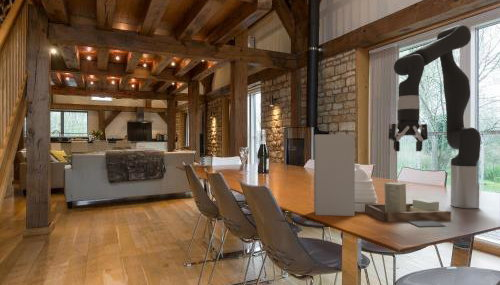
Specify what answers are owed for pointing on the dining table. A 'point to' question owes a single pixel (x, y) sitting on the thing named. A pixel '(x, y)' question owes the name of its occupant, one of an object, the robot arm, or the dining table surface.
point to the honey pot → (363, 189)
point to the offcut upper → (426, 204)
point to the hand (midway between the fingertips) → (407, 151)
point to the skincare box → (395, 197)
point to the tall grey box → (334, 175)
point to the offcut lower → (418, 210)
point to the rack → (405, 214)
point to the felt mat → (425, 223)
